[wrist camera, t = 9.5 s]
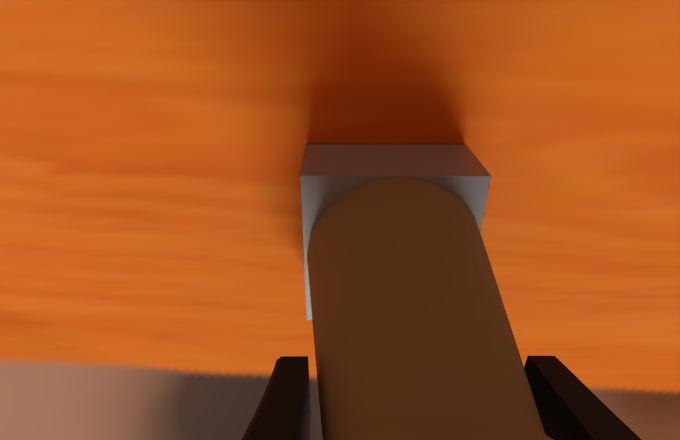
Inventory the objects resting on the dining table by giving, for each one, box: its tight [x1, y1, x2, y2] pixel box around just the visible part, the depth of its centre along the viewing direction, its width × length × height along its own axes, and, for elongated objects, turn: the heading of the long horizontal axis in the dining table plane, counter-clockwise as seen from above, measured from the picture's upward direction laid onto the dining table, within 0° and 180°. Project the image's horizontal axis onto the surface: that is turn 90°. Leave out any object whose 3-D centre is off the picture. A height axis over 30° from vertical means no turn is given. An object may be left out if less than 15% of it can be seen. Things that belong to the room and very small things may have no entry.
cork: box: [307, 177, 554, 440], centre depth 9 cm, size 6×6×11 cm
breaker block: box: [300, 144, 491, 320], centre depth 16 cm, size 6×6×3 cm
